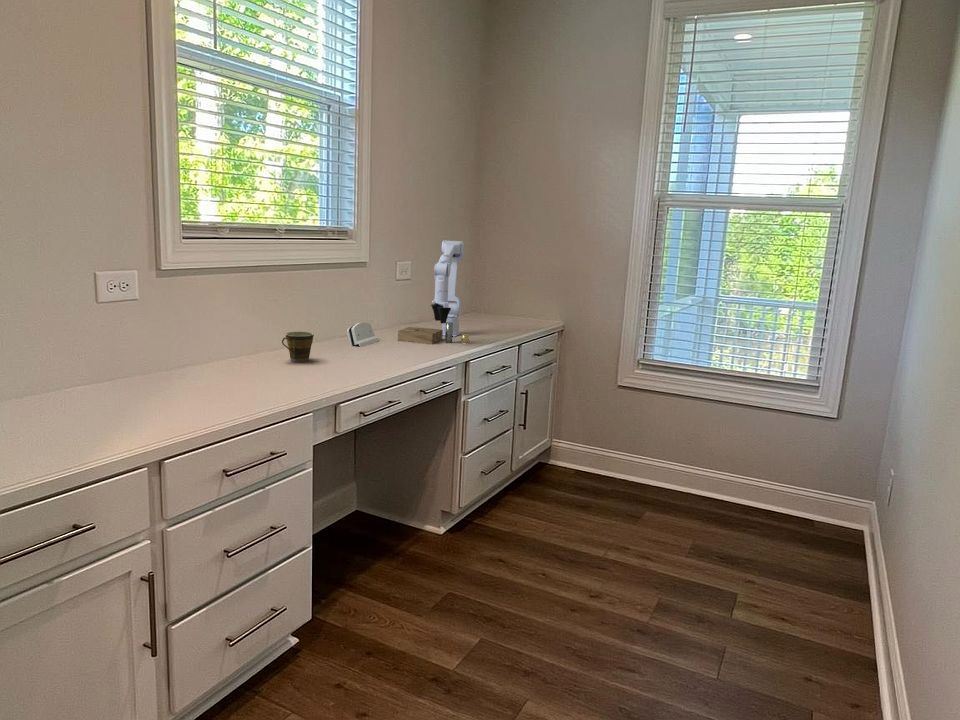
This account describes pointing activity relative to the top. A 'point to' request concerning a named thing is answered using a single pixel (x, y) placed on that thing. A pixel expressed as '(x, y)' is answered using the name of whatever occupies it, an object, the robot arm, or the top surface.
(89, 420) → the top surface
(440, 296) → the robot arm
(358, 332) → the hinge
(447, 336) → the tall pin
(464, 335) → the short pin
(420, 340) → the hole block
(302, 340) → the ceramic cup
